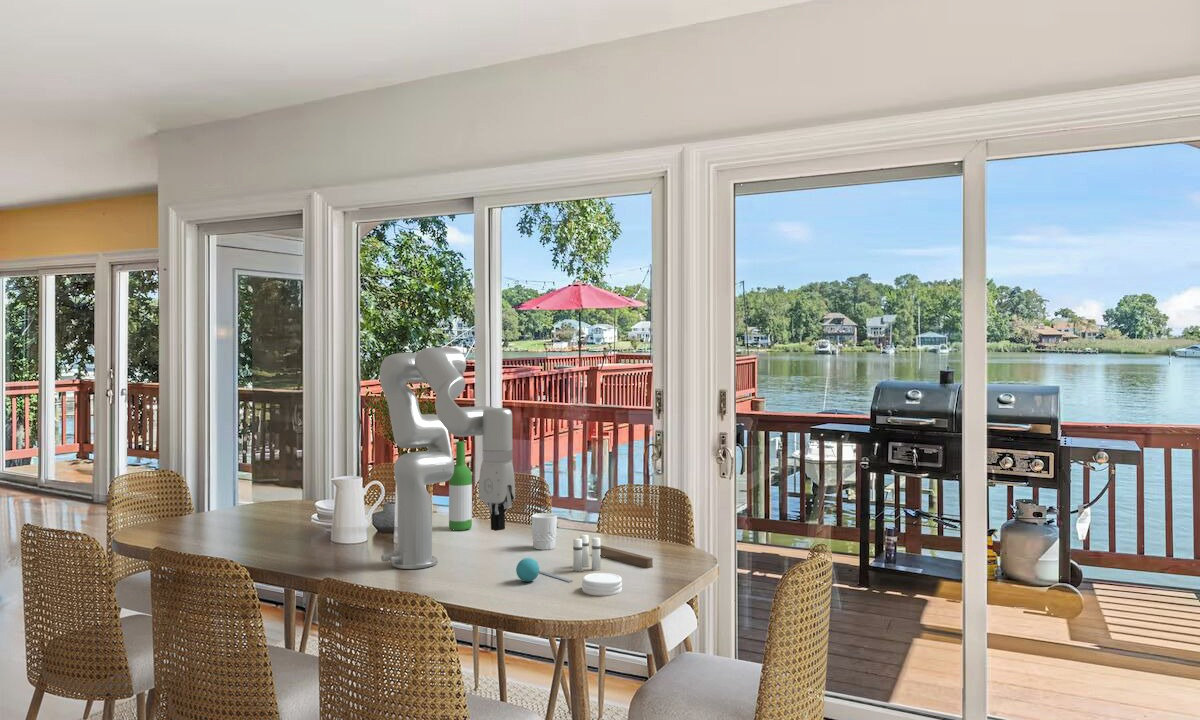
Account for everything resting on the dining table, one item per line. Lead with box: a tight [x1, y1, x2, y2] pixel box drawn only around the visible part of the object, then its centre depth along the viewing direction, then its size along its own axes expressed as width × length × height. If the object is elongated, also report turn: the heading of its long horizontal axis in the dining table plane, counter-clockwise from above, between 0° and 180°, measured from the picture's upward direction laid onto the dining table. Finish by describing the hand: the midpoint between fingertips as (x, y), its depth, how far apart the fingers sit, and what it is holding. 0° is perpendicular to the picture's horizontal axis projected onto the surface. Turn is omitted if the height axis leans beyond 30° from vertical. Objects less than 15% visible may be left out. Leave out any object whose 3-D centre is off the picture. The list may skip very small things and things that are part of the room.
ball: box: [515, 557, 540, 583], centre depth 211 cm, size 6×6×6 cm
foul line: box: [539, 569, 574, 583], centre depth 216 cm, size 1×16×1 cm, turn 41°
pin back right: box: [591, 537, 601, 571], centre depth 223 cm, size 2×2×8 cm
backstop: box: [600, 544, 654, 569], centre depth 234 cm, size 2×22×2 cm, turn 42°
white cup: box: [531, 512, 558, 550], centre depth 250 cm, size 8×8×10 cm
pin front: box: [572, 537, 583, 572], centre depth 222 cm, size 2×2×8 cm
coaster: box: [581, 572, 623, 597], centre depth 203 cm, size 10×10×4 cm
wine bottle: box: [448, 441, 473, 531], centre depth 279 cm, size 8×8×30 cm
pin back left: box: [579, 534, 590, 568], centre depth 227 cm, size 2×2×8 cm
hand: (497, 529), depth 205 cm, fingers closed
